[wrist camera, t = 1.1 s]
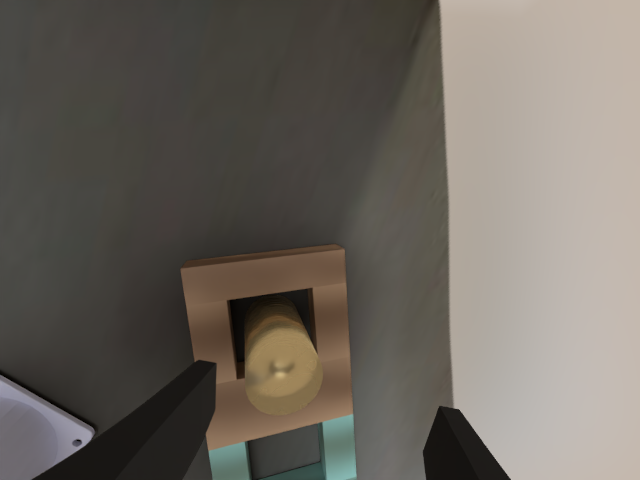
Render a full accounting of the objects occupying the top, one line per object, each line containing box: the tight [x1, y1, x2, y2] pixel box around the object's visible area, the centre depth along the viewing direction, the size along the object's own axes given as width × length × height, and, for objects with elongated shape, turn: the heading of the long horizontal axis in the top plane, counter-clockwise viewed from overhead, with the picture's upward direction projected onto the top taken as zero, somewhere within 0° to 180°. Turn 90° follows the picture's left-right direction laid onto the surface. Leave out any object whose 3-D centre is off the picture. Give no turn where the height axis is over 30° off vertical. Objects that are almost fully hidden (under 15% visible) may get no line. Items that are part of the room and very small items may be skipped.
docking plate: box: [181, 244, 356, 480], centre depth 21 cm, size 20×10×2 cm, turn 4°
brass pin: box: [245, 295, 323, 415], centre depth 18 cm, size 4×4×7 cm
